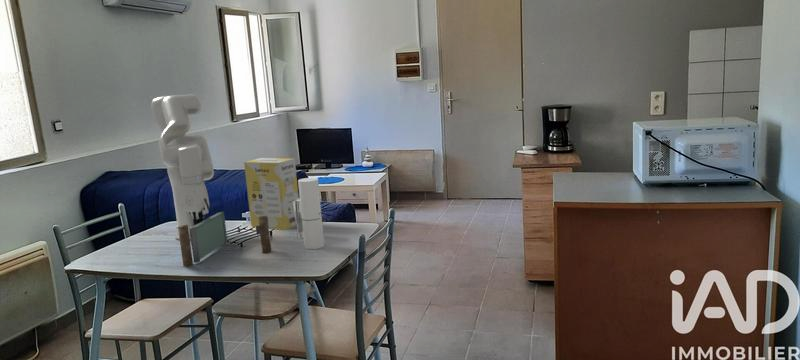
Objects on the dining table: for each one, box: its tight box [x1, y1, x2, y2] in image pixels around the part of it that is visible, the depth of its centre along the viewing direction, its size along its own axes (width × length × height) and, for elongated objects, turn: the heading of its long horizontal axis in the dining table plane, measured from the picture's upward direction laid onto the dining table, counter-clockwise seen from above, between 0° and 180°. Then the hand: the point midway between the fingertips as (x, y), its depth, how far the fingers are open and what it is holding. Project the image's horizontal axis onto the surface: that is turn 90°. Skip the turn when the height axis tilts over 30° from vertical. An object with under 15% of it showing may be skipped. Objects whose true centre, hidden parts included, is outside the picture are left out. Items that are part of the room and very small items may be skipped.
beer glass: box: [293, 197, 304, 240], centre depth 224 cm, size 7×7×15 cm
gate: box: [189, 211, 228, 264], centre depth 209 cm, size 23×2×12 cm, turn 171°
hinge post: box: [177, 225, 194, 267], centre depth 198 cm, size 3×3×14 cm
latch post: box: [255, 216, 272, 254], centre depth 207 cm, size 5×4×13 cm
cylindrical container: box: [297, 177, 325, 250], centre depth 209 cm, size 7×7×25 cm
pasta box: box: [243, 157, 300, 231], centre depth 243 cm, size 18×10×28 cm, turn 63°
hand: (199, 228), depth 213 cm, fingers closed
